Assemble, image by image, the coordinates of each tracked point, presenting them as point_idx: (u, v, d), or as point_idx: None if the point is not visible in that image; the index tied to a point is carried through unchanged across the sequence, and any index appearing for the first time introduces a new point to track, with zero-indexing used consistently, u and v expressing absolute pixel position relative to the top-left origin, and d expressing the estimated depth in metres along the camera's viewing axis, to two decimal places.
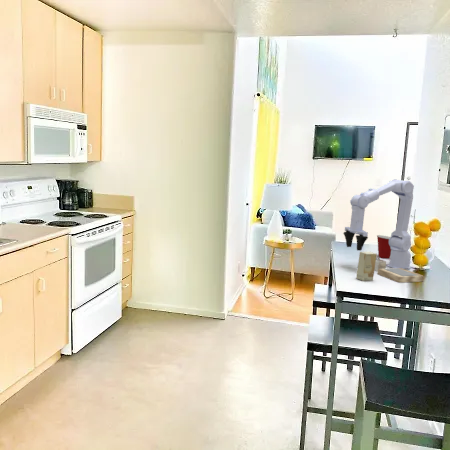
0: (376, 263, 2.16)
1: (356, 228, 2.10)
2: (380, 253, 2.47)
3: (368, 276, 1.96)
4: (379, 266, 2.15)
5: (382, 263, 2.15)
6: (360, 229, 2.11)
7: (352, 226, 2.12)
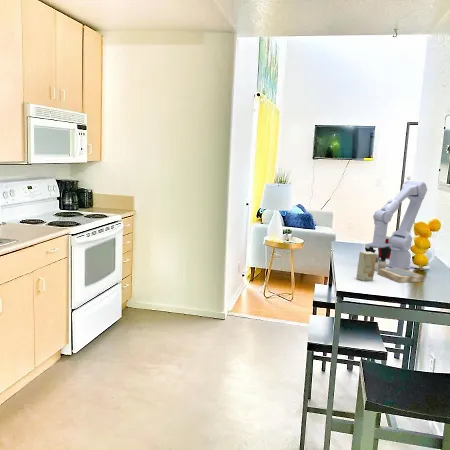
0: (376, 263, 2.16)
1: None
2: (380, 253, 2.47)
3: (368, 276, 1.96)
4: (379, 266, 2.15)
5: (382, 263, 2.15)
6: (374, 242, 2.16)
7: None
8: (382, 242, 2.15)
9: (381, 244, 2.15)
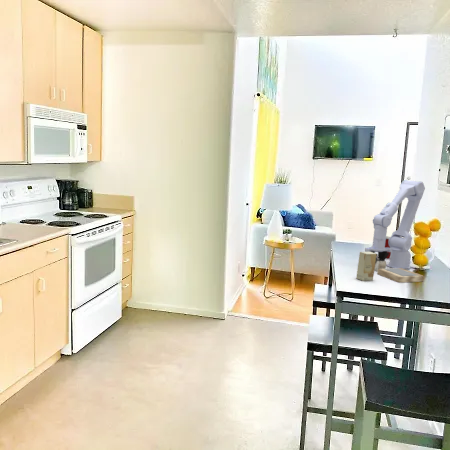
0: (376, 263, 2.16)
1: (372, 245, 2.18)
2: None
3: (368, 276, 1.96)
4: (379, 266, 2.15)
5: (382, 263, 2.15)
6: (374, 247, 2.16)
7: None
8: (382, 246, 2.15)
9: (381, 248, 2.15)
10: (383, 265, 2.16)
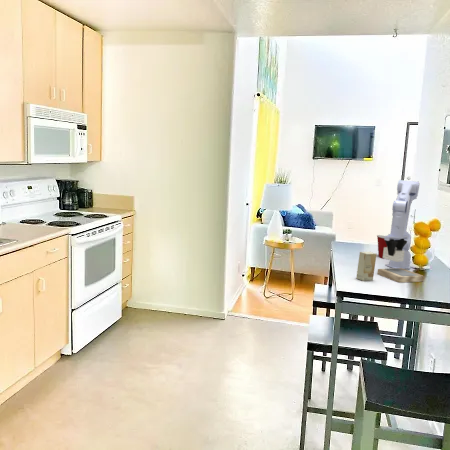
0: (395, 253, 2.06)
1: (390, 233, 2.07)
2: (380, 253, 2.47)
3: (368, 276, 1.96)
4: (398, 256, 2.05)
5: (401, 252, 2.06)
6: (393, 234, 2.06)
7: None
8: (401, 234, 2.05)
9: (400, 236, 2.05)
10: (402, 255, 2.06)
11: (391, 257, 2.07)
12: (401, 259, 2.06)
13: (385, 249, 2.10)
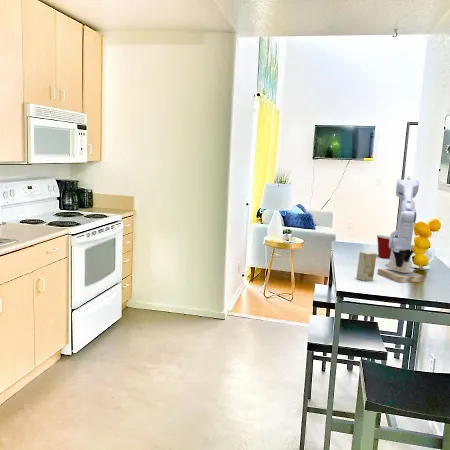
0: (403, 264, 2.02)
1: (398, 244, 2.03)
2: (380, 253, 2.47)
3: (368, 276, 1.96)
4: (407, 267, 2.02)
5: (409, 263, 2.02)
6: (401, 245, 2.02)
7: None
8: (409, 244, 2.01)
9: (409, 247, 2.01)
10: (409, 266, 2.03)
11: (399, 269, 2.04)
12: (409, 270, 2.03)
13: (392, 260, 2.06)
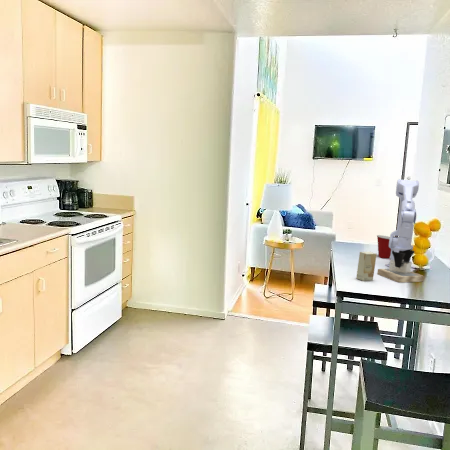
0: (403, 265, 2.02)
1: (398, 244, 2.03)
2: (380, 253, 2.47)
3: (368, 276, 1.96)
4: (407, 268, 2.02)
5: (409, 265, 2.03)
6: (401, 245, 2.02)
7: None
8: (409, 244, 2.01)
9: (409, 247, 2.01)
10: (409, 267, 2.03)
11: (399, 270, 2.04)
12: (409, 271, 2.04)
13: (392, 261, 2.06)
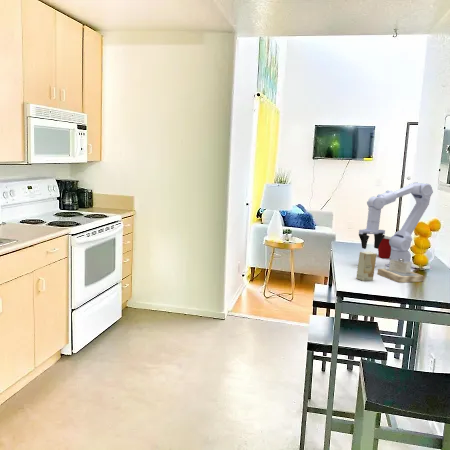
0: (403, 265, 2.02)
1: None
2: (380, 253, 2.47)
3: (368, 276, 1.96)
4: (407, 268, 2.02)
5: (409, 265, 2.03)
6: (368, 229, 2.19)
7: None
8: (375, 228, 2.17)
9: (374, 230, 2.17)
10: (409, 267, 2.03)
11: (399, 270, 2.04)
12: (409, 271, 2.04)
13: (392, 261, 2.06)
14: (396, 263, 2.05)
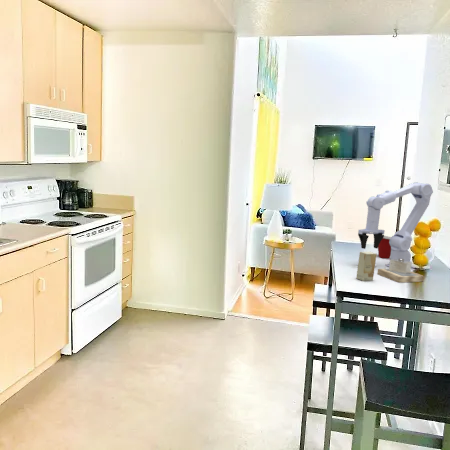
0: (403, 265, 2.02)
1: None
2: (380, 253, 2.47)
3: (368, 276, 1.96)
4: (407, 268, 2.02)
5: (409, 265, 2.03)
6: (367, 228, 2.19)
7: None
8: (375, 228, 2.18)
9: (374, 230, 2.18)
10: (409, 267, 2.03)
11: (399, 270, 2.04)
12: (409, 271, 2.04)
13: (392, 261, 2.06)
14: (396, 263, 2.05)
